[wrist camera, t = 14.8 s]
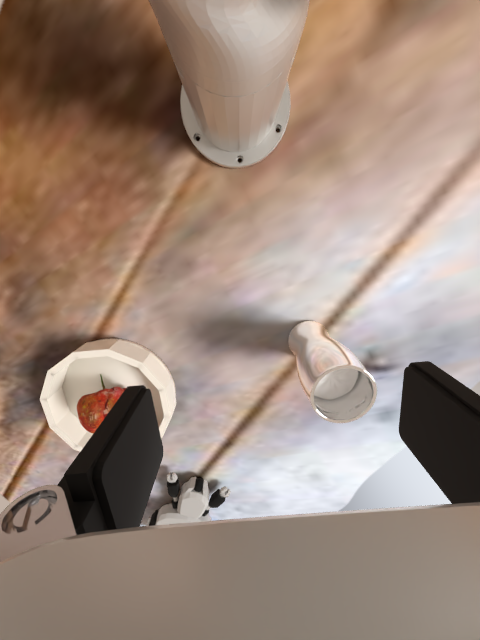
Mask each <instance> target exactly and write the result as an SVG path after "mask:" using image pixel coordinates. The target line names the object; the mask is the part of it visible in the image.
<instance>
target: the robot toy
mask: <svg viewBox="0 0 480 640" xmlns="http://www.w3.org/2000/svg"><path fill="white" fill-rule="evenodd" d="M167 481H168V482H167V487H168V493H169V495H170V496H171V497H173V500H172V504H166V505H163V506H162V507H161V508H160V509H159V510H156V511H155V512H154V513H153V515H152V517H149V519H148V522H147V523H148V524H149V526H154V525H166V524H177V523H190V522H203V521H211V517H210V516H209V515H208V513H209V509H210V508H216V507H219V506H220V505H221V504H222V503H223V502H224V501H225V497H228V496H229V494H230V489H228V490H227V487H223V488H221V490H220V489H218V490H217V491H216V492H214V493H213V494H212V495H211V498H210V501H209V488H208V482H207V481H206V480H205V479H204V480H203V479H202V478H197V479H196V477H191V478H190V479H189V480H188V482H185V483H184V484H183V485H182V487H181V491H180V486H179V480H178V477H177V475H176V473H172V476H171V473H169V474H168V475H167ZM203 483H204V484H203ZM179 491H180V496H179V497H178V493H179ZM208 502H209V503H208ZM148 524H147V526H148Z"/></svg>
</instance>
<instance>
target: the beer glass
mask: <svg viewBox="0 0 480 640" xmlns="http://www.w3.org/2000/svg"><path fill="white" fill-rule="evenodd" d="M288 345H289V348H290V350H291V352H292V353H293V354H294V355H295V356H296V358H297V371H298V377H299V380H300V383H301V386H302V388H303V390H304V392H305V394H306V396H307V398H308V400H309V401H310V403H311V405H312V407H313V409H314V411H315V412H316V413H317V414H318V415H319V416H320V417H321V418H323V419H324V420H326V421H329V422H333V423H347V422H351V421H354V420H357V419H359V418H360V417H362V416H363V415H365V414H366V413H367V412H368V411H369V410H370V409H371V407H372V406H373V404H374V402H375V399H376V396H377V387H376V383H375V381H374V379H373V377H372V376H371V375H370V374H369V372H368V371H367V369H366V368H365V367H364V365H363V364H362V362H361V361H360V360H359V359H358V358H357V356H356V355H355V354H354V353H353V352H352V351H351V350H349V349H348V348H347V347H346V346H344V345H343V344H341V343H340V342H338V341H336V340H334V339H332V338H330V336H329V333H328V331H327V329H326V328H325V327H324V326H323V325H322V324H321V323H319V322H316V321H304V322H301V323H299V324H297V325H296V326H295V327H294V328H293V329H292V330H291V332H290V334H289V338H288Z"/></svg>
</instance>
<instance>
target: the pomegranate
mask: <svg viewBox="0 0 480 640" xmlns="http://www.w3.org/2000/svg"><path fill="white" fill-rule="evenodd" d="M100 376H101V383H102V387H103V389H102V390H100V391H98V392H95V393H92V394H87V395H83V396H82V397H81V398H80V399H79V401H78V403H77V413H78V418H79V421H80V423H81V425H82V426H83V427H84V428H85V429H86V430H87V431H88V432H90V433H93V434H94V432H95V431H96V429H97V428H98V427H99V425H100V424H101V422H102V421H103V420H104V418H105V417H106V416H107V414H108V413H109V411H110V410H111V409H112V407H113V406H114V404H115V403H116V402H117V400H118V399H119V397H120V396H121V395H122V393H123V392H124V391H125V389H126V388H121V387H113V388H111V389H105V386H104V383H103V379H102V375H101V374H100Z"/></svg>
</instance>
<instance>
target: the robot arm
mask: <svg viewBox="0 0 480 640" xmlns="http://www.w3.org/2000/svg"><path fill="white" fill-rule="evenodd" d="M149 2H150V4H151V6H152V9H153V11H154V13H155V16H156V18H157V20H158V23H159V25H160V28H161V30H162V33H163V35H164V38H165V41H166V43H167V46H168V48H169V51H170V53H171V56H172V59H173V61H174V64H175V66H176V69H177V72H178V74H179V77H180V79H181V82H182V87H181V96H180V105H181V115H182V119H183V124H184V126H185V129H186V131H187V134H188V136H189V138H190V140H191V141H192V143H193V144H194V146H195V147H196V148H197V150H198V151H199V152H200V153H201V154H202V155H203V156H204V157H205V158H207V159H208V160H210V161H211V162H213V163H215V164H217V165H220V166H223V167H227V168H245V167H248V166H252V165H254V164H256V163H258V162H260V161H262V160H263V159H264V158H266V157H267V156H268V155H269V154H270V153H271V152H272V151H273V150H274V149H275V148H276V146H277V145H278V143H279V141H280V140H281V138H282V136H283V134H284V132H285V130H286V126H287V123H288V119H289V114H290V90H289V85H288V81H287V80H288V77H289V73H290V70H291V67H292V64H293V61H294V58H295V55H296V51H297V48H298V45H299V42H300V38H301V35H302V32H303V29H304V25H305V21H306V17H307V13H308V7H309V2H310V0H149ZM276 129H279V131H280V132H279V133H277V132H276V131H275V130H276ZM197 137H199V138H200V141H196V138H197ZM238 159H241V160H242V162H241V163H239V162H238ZM399 433H400V436H401V439H402V440H403V441H404V443H405V444H406V445H407V447H408V448H409V449H410V450H411V452H412V453H413V454H414V455H415V457H416V458H417V459H418V461H419V462H420V463H421V465H422V466H423V467H424V468H425V469H426V471H427V472H428V473H429V475H430V476H431V477H432V479H433V480H434V481H435V482H436V484H437V485H438V486H439V488H440V489H441V490H442V491H443V493H444V494H445V495H446V496H447V498H448V499H449V500H450V501H451V503H452V504H444V505H428V506H414V507H397V508H383V509H367V510H353V511H338V512H324V513H310V514H296V515H282V516H268V517H255V518H242V519H229V520H216V521H203V522H190V523H177V524H166V525H154V526H143V527H139V526H140V523H141V520H142V517H143V514H144V511H145V508H146V505H147V502H148V499H149V496H150V493H151V490H152V487H153V484H154V481H155V479H156V476H157V473H158V470H159V467H160V464H161V461H162V458H163V445H162V440H161V436H160V431H159V426H158V422H157V417H156V412H155V408H154V403H153V398H152V394H151V390H150V389H146V387H145V386H144V385H138V386H128V387H127V388H126V389H125V391H124V392H123V393H122V395H121V396H120V397H119V399H118V400H117V402H116V403H115V404H114V406H113V407H112V409H111V410H110V411H109V413H108V414H107V416H106V417H105V418H104V420H103V421H102V422H101V424H100V425H99V427H98V428H97V429H96V431H95V432H94V434H93V435H92V436H91V438H90V439H89V441H88V442H87V443H86V445H85V446H84V447H83V449H82V450H81V452H80V453H79V454H78V456H77V457H76V459H75V460H74V461H73V463H72V464H71V466H70V467H69V468H68V470H67V471H66V473H65V474H64V477H63V478H62V480H61V481H60V482H59V484H58V485H45V486H41V487H38V488H35V489H33V490H31V491H28V492H27V493H25V494H23V495H22V496H20V497H18V498H17V499H16V500H14V501H13V502H12V503H11V504H9V505H8V506H7V507H6V508H5V510H4V511H3V512H2V513H1V514H0V640H480V396H479V395H478V394H476V393H475V392H473V391H472V390H471V389H469V388H468V387H466V386H465V385H463V384H462V383H460V382H459V381H457V380H456V379H454V378H453V377H452V376H450V375H449V374H447V373H446V372H444V371H443V370H441V369H440V368H438V367H437V366H436V365H434V364H433V363H431V362H429V361H426V362H414V363H410V365H409V367H406V368H405V370H404V379H403V390H402V401H401V412H400V422H399Z"/></svg>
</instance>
